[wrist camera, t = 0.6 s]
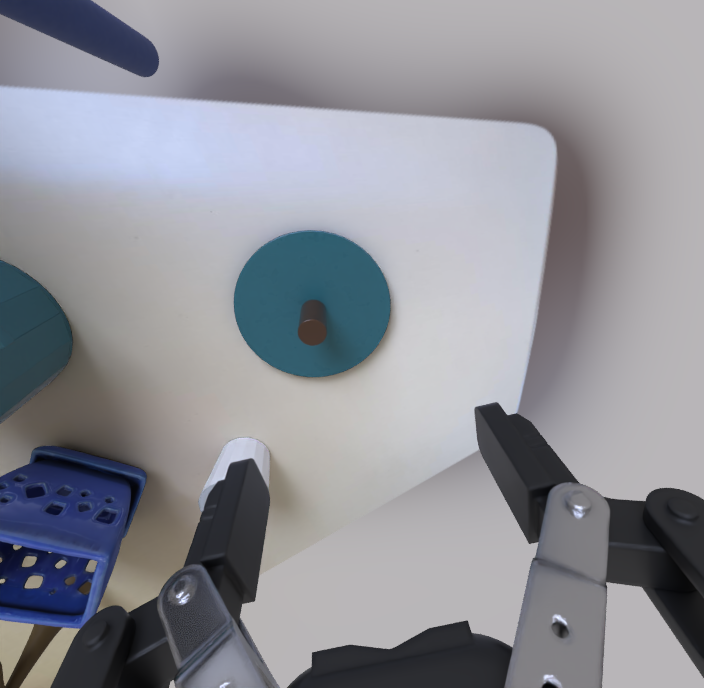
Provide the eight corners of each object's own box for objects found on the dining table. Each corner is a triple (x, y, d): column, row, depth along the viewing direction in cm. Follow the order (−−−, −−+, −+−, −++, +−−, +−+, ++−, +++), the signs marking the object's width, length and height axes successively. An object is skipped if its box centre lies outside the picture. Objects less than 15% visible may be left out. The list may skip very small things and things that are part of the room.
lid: (205, 266, 33) (183, 287, 28) (356, 202, 31) (363, 211, 26) (279, 390, 39) (272, 426, 34) (407, 342, 38) (421, 371, 32)
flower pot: (164, 459, 42) (112, 559, 32) (138, 529, 47) (86, 636, 37) (37, 423, 39) (-69, 522, 28) (23, 503, 44) (-71, 613, 33)
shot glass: (287, 459, 44) (281, 509, 38) (243, 485, 45) (230, 537, 39) (249, 423, 41) (236, 470, 35) (203, 451, 42) (182, 502, 36)
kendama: (68, 552, 49) (-78, 780, 31) (117, 589, 53) (12, 808, 35) (31, 566, 49) (-133, 796, 31) (82, 601, 53) (-38, 822, 36)
